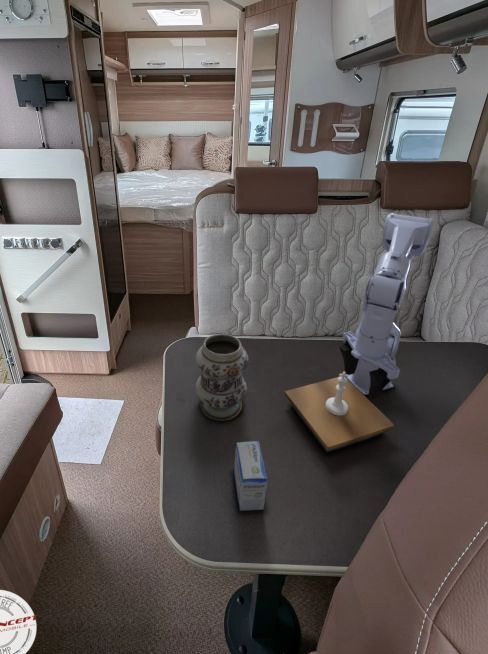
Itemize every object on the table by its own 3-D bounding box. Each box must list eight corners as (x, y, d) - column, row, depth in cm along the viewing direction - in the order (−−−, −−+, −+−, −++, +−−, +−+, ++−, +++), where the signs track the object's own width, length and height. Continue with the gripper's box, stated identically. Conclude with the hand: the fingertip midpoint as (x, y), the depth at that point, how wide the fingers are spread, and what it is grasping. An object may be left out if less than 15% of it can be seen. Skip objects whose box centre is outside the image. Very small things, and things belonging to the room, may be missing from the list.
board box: (340, 387, 94) (343, 375, 92) (390, 438, 79) (394, 425, 77) (283, 403, 88) (284, 391, 86) (325, 461, 74) (328, 447, 72)
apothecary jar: (235, 384, 94) (238, 325, 86) (253, 418, 84) (258, 355, 76) (190, 393, 91) (189, 333, 83) (203, 429, 81) (203, 365, 73)
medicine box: (233, 472, 71) (235, 441, 68) (255, 470, 72) (258, 439, 68) (239, 512, 64) (242, 480, 61) (264, 510, 65) (268, 478, 61)
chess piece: (349, 417, 79) (358, 381, 75) (326, 413, 80) (333, 378, 76) (346, 401, 84) (354, 366, 79) (324, 398, 85) (331, 363, 80)
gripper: (335, 317, 78) (325, 368, 84) (385, 356, 66) (369, 412, 72) (361, 312, 81) (350, 362, 86) (414, 349, 68) (397, 403, 74)
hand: (361, 384), depth 79 cm, fingers open, 7 cm apart
